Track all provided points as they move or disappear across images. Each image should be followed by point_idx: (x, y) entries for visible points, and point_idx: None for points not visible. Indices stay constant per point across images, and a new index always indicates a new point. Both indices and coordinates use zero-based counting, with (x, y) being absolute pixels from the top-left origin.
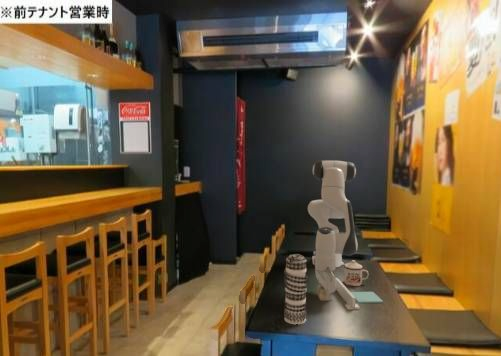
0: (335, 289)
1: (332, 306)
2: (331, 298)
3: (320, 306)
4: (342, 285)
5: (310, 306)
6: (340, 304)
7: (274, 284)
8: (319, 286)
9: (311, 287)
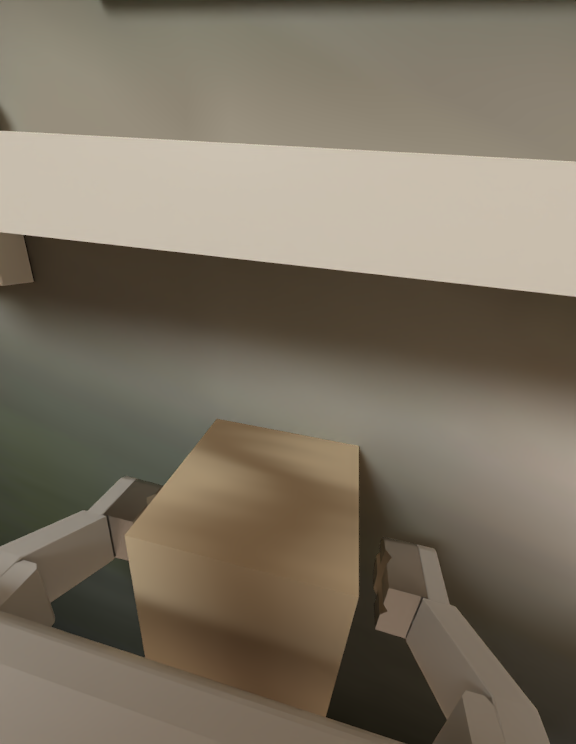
0: (10, 242)
1: (546, 521)
2: (357, 465)
3: (487, 616)
4: (94, 214)
5: None
6: (530, 399)
7: None
8: (186, 668)
9: (6, 474)
